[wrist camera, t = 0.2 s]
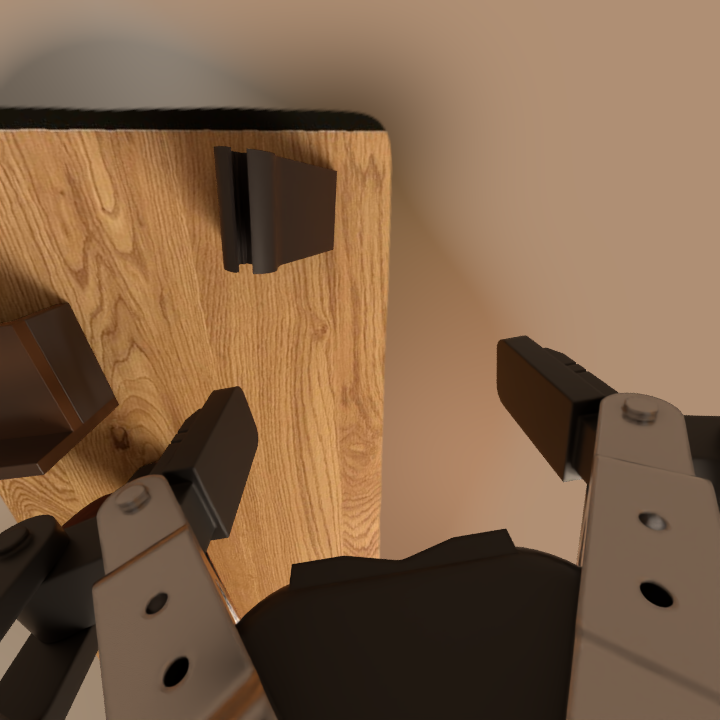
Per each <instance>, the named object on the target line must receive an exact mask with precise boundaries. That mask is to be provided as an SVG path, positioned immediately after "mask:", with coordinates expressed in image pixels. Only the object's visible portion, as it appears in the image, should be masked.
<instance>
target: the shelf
mask: <svg viewBox="0 0 720 720" xmlns="http://www.w3.org/2000/svg"><path fill="white" fill-rule="evenodd" d="M118 405H119V404H118V402H117V400H116V398H115V396H114V394H113V392H112V390H111V388H110V386H109V384H108V382H107V380H106V378H105V376H104V374H103V372H102V369H101V367H100V365H99V363H98V361H97V359H96V357H95V355H94V353H93V351H92V349H91V347H90V345H89V343H88V341H87V339H86V337H85V335H84V333H83V331H82V329H81V327H80V325H79V323H78V321H77V319H76V317H75V315H74V313H73V311H72V309H71V307H70V305H69V303H63V304H56V305H53V306H51V307H48V308H45V309H43V310H40V311H38V312H35V313H32V314H30V315H27V316H24V317H22V318H19V319H16V320H14V321H11V322H5V323H0V480H4V479H12V478H20V477H29V476H37V475H44V474H45V473H46V472H47V471H49V470H50V469H51V468H52V467H53V466H54V465H55V464H56V463H57V462H58V461H59V460H60V459H61V458H62V457H64V456H65V455H66V454H67V453H68V452H69V451H70V450H71V449H72V448H73V447H74V446H75V445H76V444H78V443H79V442H80V441H81V440H82V439H83V438H84V437H85V436H86V435H87V434H88V433H89V432H90V431H92V430H93V429H94V428H95V427H96V426H97V425H98V424H99V423H100V422H101V421H102V420H103V419H104V418H106V417H107V416H108V415H109V414H110V413H111V412H112V411H113V410H114V409H115V408H116V407H117V406H118Z"/></svg>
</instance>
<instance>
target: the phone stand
mask: <svg viewBox="0 0 720 720" xmlns="http://www.w3.org/2000/svg"><path fill="white" fill-rule="evenodd" d="M214 158H215V170H216V182H217V193H218V205H219V217H220V228H221V240H222V252H223V263H224V269H225V270H227V271H230V272H235V273H237V272H239V265H240V264H246V263H248V264H252V265H253V274H265V273H271V272H275V271H277V268H278V267H279V266H280V265H282V264H286V263H289V262H293V261H296V260H299V259H303V258H306V257H310V256H313V255H317V254H320V253H323V252H327V251H330V250H333V245H334V223H335V202H336V180H337V171H334V170H330V169H326V168H322V167H318V166H314V165H310V164H306V163H302V162H298V161H294V160H290V159H286V158H282V157H278V156H276V155H275V154H274V153H271V152H266V151H261V150H255V149H247V153H240V152H233V151H231V147H226V146H215V147H214Z"/></svg>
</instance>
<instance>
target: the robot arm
mask: <svg viewBox="0 0 720 720" xmlns="http://www.w3.org/2000/svg"><path fill="white" fill-rule="evenodd" d="M497 390H498V395H499V398H500V400H501V402H502V404H503V405H504V406H505V408H506V409H507V411H508V412H509V413H510V414H511V416H512V417H513V418H514V419H515V421H516V422H517V423H518V425H519V426H520V427H521V428H522V430H523V431H524V432H525V434H526V435H527V436H528V437H529V439H530V440H531V441H532V443H533V444H534V445H535V446H536V448H537V449H538V450H539V452H540V453H541V454H542V455H543V457H544V458H545V459H546V460H547V462H548V463H549V464H550V466H551V467H552V468H553V469H554V471H555V472H556V473H557V475H558V476H559V477H560V478H561V479H562V481H563V482H567V481H572V480H578V479H583V480H584V481H585V482H586V483H587V488H586V494H585V502H584V510H583V517H582V525H581V533H580V541H579V548H578V556H577V563H576V565H575V564H573V563H571V562H569V561H567V560H565V559H562V558H560V557H557V556H555V555H552V554H549V553H545V552H542V551H538V550H534V549H529V548H524V547H515V546H514V543H513V541H512V539H511V537H510V536H509V533H508V531H507V529H501V530H495V531H489V532H483V533H477V534H471V535H465V536H459V537H453V538H451V539H448V540H446V541H444V542H442V543H440V544H437V545H435V546H433V547H431V548H428V549H426V550H424V551H421V552H419V553H417V554H415V555H413V556H410V557H408V558H406V559H403V560H387V559H376V558H364V557H353V556H339V557H333V558H327V559H321V560H315V561H309V562H303V563H297V564H292V568H291V576H290V584H289V585H286V586H284V587H282V588H280V589H279V590H277V591H275V592H274V593H272V594H270V595H269V596H267V597H266V598H265V599H263V600H262V601H261V602H259V603H258V604H257V605H256V606H254V607H253V608H252V609H251V610H250V611H249V612H248V613H246V614H245V616H244V617H243V618H242V619H241V617H240V615H239V613H238V612H237V610H236V608H235V606H234V604H233V602H232V600H231V598H230V596H229V594H228V592H227V590H226V588H225V586H224V584H223V582H222V580H221V578H220V576H219V574H218V572H217V570H216V568H215V566H214V564H213V562H212V560H211V558H210V556H209V554H208V552H207V548H208V546H209V543H210V540H216V539H222V538H228V537H229V535H230V532H231V529H232V525H233V522H234V519H235V516H236V513H237V510H238V506H239V503H240V500H241V497H242V494H243V491H244V487H245V484H246V481H247V478H248V475H249V472H250V469H251V465H252V462H253V459H254V456H255V453H256V450H257V446H258V432H257V427H256V425H255V422H254V419H253V416H252V414H251V411H250V408H249V406H248V403H247V400H246V398H245V395H244V393H243V391H242V389H241V388H240V387H239V386H236V387H231V388H225V389H220V390H214V391H213V392H212V393H211V395H210V396H209V398H208V399H207V401H206V403H205V404H204V406H203V407H202V409H198V410H197V411H196V412H195V413H193V414H192V415H191V416H190V417H189V418H187V419H186V420H185V422H184V423H183V425H182V426H181V428H180V429H179V431H178V434H176V435H175V437H174V438H173V440H172V441H171V444H169V445H168V447H167V448H166V450H165V451H164V453H163V454H162V456H161V457H160V459H159V460H158V462H157V463H156V465H155V466H154V468H153V469H152V471H151V472H150V474H149V475H147V476H143V477H140V478H137V479H135V480H133V481H131V482H129V483H127V484H125V485H123V486H122V487H120V488H119V489H118V490H116V491H115V492H114V493H112V494H111V495H110V496H109V497H108V498H107V499H106V500H105V501H104V502H103V504H102V505H101V507H100V508H99V510H98V513H97V516H95V517H93V518H90V519H88V520H85V521H83V522H80V523H77V524H75V525H72V526H70V527H67V528H65V529H63V528H62V527H61V525H60V524H59V523H58V522H57V520H56V519H55V518H54V517H53V516H51V515H39V516H35V517H32V518H29V519H26V520H24V521H22V522H20V523H18V524H16V525H14V526H12V527H10V528H9V529H7V530H5V531H4V532H2V533H1V534H0V641H1V640H2V639H3V637H4V636H5V634H6V633H7V631H8V630H9V629H10V627H11V626H12V624H13V623H14V622H15V620H16V619H17V620H18V621H19V622H20V623H21V624H22V625H24V626H25V627H26V628H27V629H28V630H29V631H30V632H31V635H30V636H29V638H28V639H27V641H26V642H25V644H24V645H23V647H22V648H21V650H20V652H19V653H18V655H17V656H16V658H15V659H14V661H13V662H12V664H11V665H10V667H9V668H8V670H7V671H6V673H5V675H4V676H3V678H2V679H1V681H0V720H65V718H66V716H67V714H68V712H69V710H70V708H71V706H72V703H73V701H74V699H75V697H76V695H77V693H78V691H79V689H80V686H81V684H82V682H83V680H84V678H85V676H86V674H87V672H88V670H89V668H90V666H91V664H92V662H93V660H94V657H95V655H96V653H97V651H98V649H99V658H100V668H101V677H102V685H103V695H104V704H105V713H106V720H720V416H690V415H688V416H687V415H683V414H682V413H681V411H680V410H679V409H678V408H676V407H675V406H673V405H672V404H670V403H668V402H666V401H664V400H662V399H659V398H656V397H653V396H649V395H644V394H638V393H637V394H636V393H618V392H617V391H615V390H614V389H613V388H611V387H610V386H608V385H607V384H606V383H604V382H603V381H601V380H600V379H599V378H597V377H596V376H594V375H593V374H592V373H590V372H586V369H584V368H583V367H582V366H580V365H579V364H576V362H575V361H573V360H572V359H570V358H569V357H567V356H566V355H565V354H563V353H560V352H557V351H554V350H552V349H549V348H542V347H541V346H540V345H538V344H537V343H536V342H534V341H533V340H531V339H530V338H529V337H527V336H519V337H513V338H508V339H502V340H500V341H499V342H498V344H497Z"/></svg>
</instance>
